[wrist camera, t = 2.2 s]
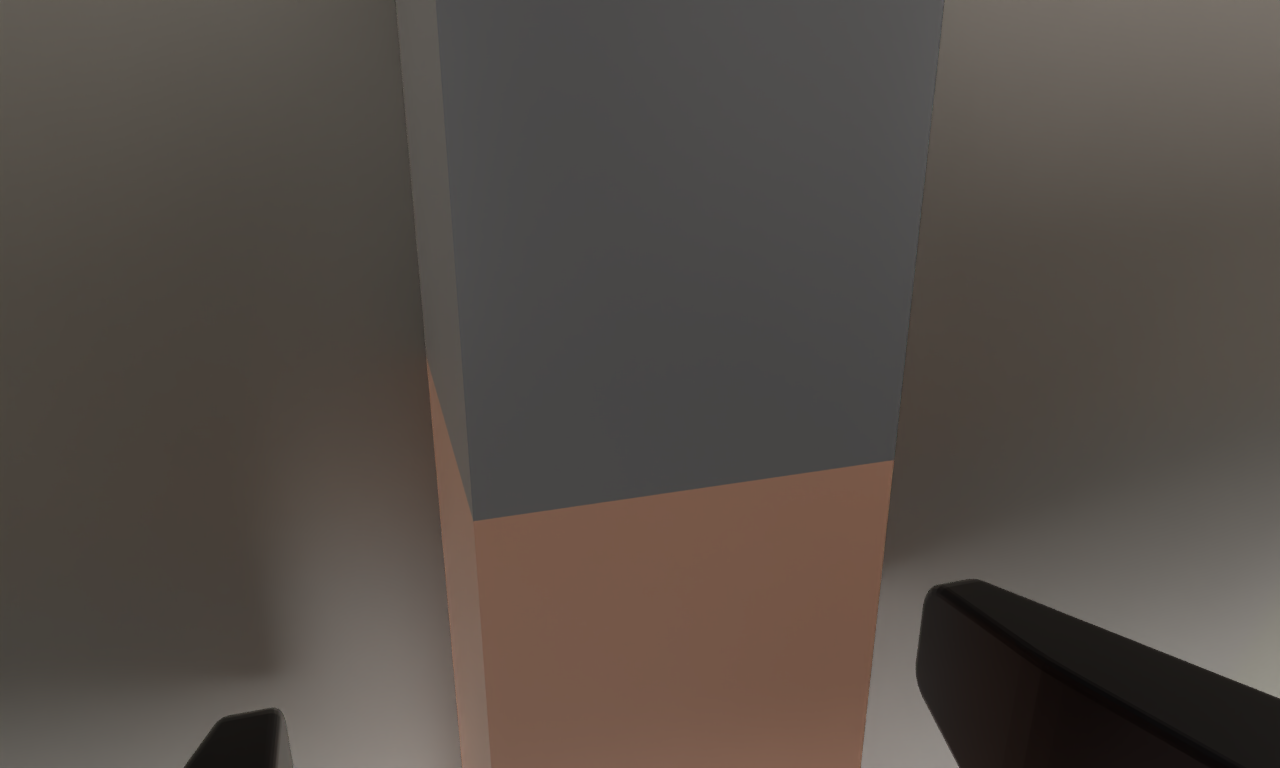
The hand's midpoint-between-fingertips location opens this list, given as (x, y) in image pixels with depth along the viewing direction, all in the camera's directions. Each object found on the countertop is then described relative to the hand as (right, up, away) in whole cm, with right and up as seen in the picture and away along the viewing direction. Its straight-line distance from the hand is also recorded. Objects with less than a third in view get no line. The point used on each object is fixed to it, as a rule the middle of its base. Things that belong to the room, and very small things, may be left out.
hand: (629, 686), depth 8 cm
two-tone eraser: (0, 0, +1) cm, 1 cm away
